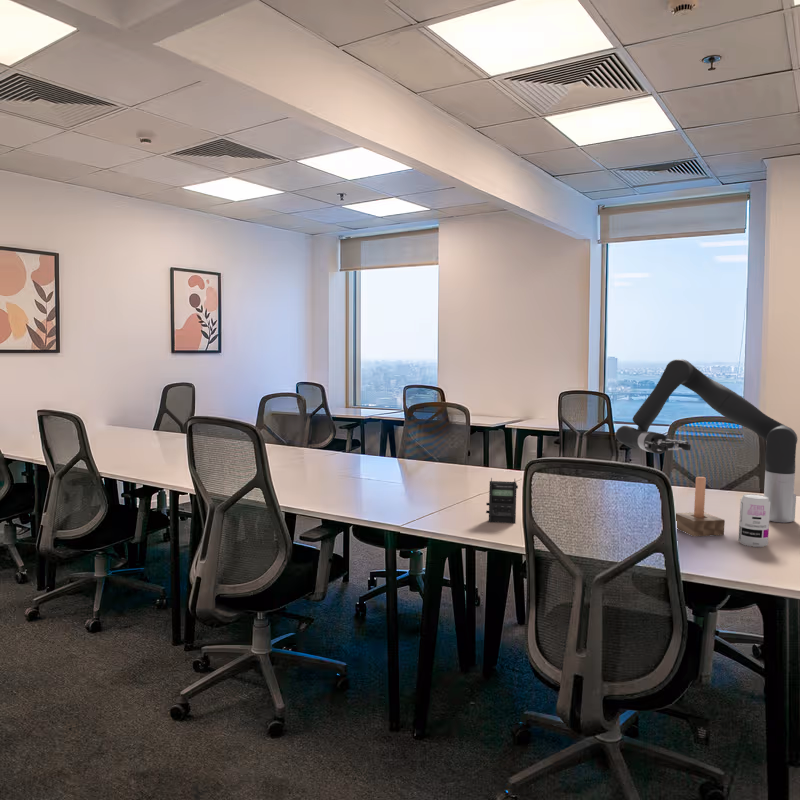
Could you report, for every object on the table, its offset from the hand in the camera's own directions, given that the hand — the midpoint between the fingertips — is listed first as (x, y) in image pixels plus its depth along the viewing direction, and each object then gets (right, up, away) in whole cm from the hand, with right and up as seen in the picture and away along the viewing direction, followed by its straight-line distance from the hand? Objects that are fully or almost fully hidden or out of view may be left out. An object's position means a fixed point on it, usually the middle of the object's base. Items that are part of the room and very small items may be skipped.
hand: (678, 447), depth 242 cm
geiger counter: (-62, -25, -2) cm, 67 cm away
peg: (+2, -27, -11) cm, 29 cm away
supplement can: (+13, -28, -25) cm, 40 cm away
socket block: (+2, -27, -11) cm, 29 cm away
